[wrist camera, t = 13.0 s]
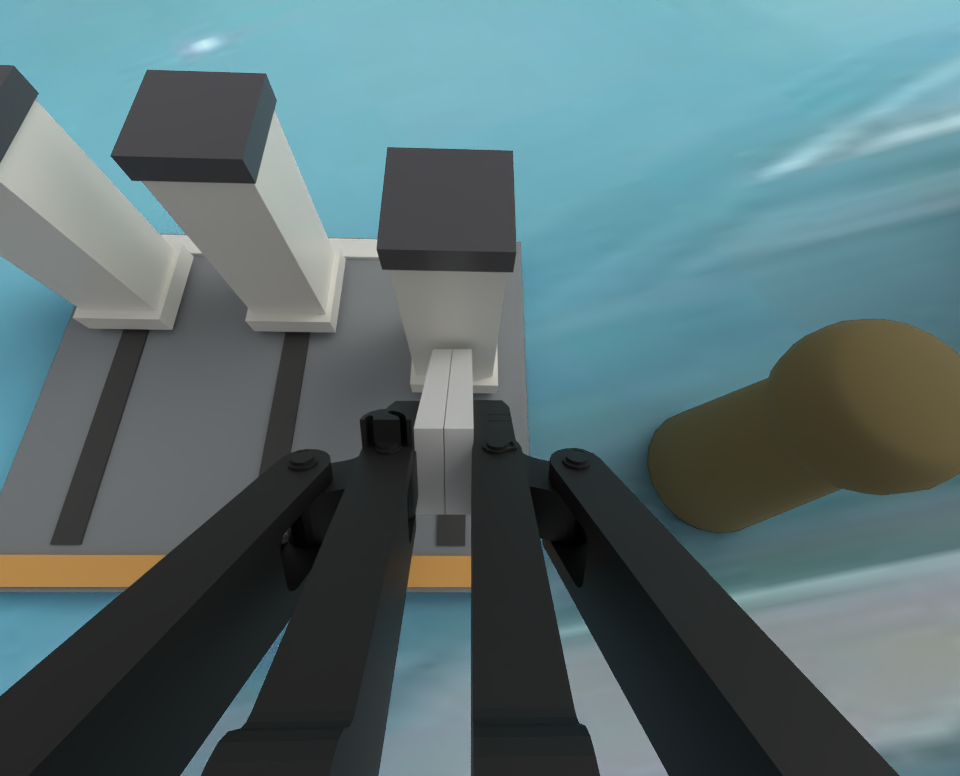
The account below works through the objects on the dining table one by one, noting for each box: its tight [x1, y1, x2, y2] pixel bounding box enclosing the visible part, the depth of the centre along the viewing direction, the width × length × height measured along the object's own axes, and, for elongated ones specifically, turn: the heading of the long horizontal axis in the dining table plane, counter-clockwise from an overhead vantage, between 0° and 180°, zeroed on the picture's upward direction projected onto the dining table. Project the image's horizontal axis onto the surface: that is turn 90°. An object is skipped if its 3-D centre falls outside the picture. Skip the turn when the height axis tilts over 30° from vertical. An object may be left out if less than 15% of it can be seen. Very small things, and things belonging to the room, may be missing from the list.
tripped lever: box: [376, 147, 516, 393], centre depth 17 cm, size 4×4×10 cm
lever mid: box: [111, 70, 346, 333], centre depth 18 cm, size 4×4×10 cm
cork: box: [648, 319, 960, 533], centre depth 17 cm, size 6×6×11 cm
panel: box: [0, 234, 529, 592], centre depth 22 cm, size 18×23×1 cm
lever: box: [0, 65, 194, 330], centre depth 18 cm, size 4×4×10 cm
